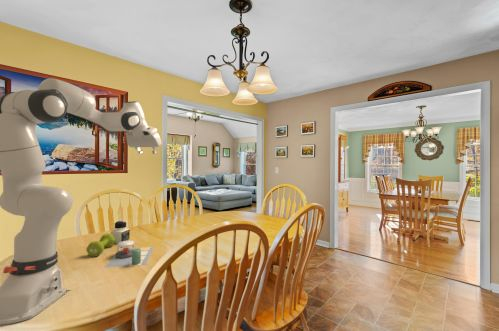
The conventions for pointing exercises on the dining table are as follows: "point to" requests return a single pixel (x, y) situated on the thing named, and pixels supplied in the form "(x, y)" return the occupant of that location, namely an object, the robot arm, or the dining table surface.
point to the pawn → (136, 256)
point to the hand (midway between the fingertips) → (148, 153)
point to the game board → (129, 257)
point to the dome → (125, 244)
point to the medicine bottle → (121, 232)
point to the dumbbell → (100, 245)
